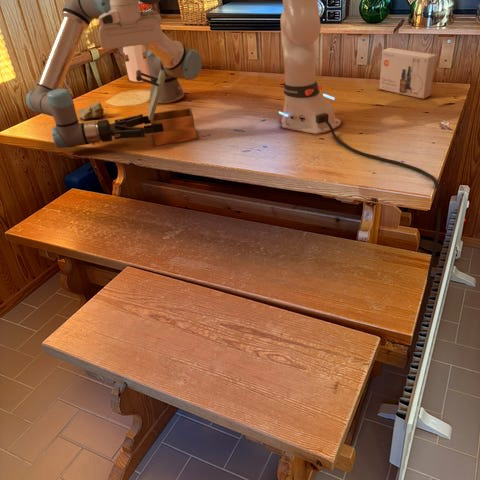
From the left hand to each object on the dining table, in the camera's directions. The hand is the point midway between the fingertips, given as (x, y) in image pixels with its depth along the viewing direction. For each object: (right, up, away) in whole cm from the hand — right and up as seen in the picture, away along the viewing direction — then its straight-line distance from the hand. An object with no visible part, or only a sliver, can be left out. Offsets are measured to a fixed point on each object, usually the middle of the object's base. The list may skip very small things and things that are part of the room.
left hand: (162, 122), depth 166 cm
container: (-20, +44, +78) cm, 91 cm away
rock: (-35, +10, +31) cm, 48 cm away
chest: (+4, -4, +4) cm, 7 cm away
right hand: (-6, +17, -13) cm, 23 cm away
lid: (-1, +8, -5) cm, 10 cm away
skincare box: (+95, +18, +23) cm, 99 cm away
